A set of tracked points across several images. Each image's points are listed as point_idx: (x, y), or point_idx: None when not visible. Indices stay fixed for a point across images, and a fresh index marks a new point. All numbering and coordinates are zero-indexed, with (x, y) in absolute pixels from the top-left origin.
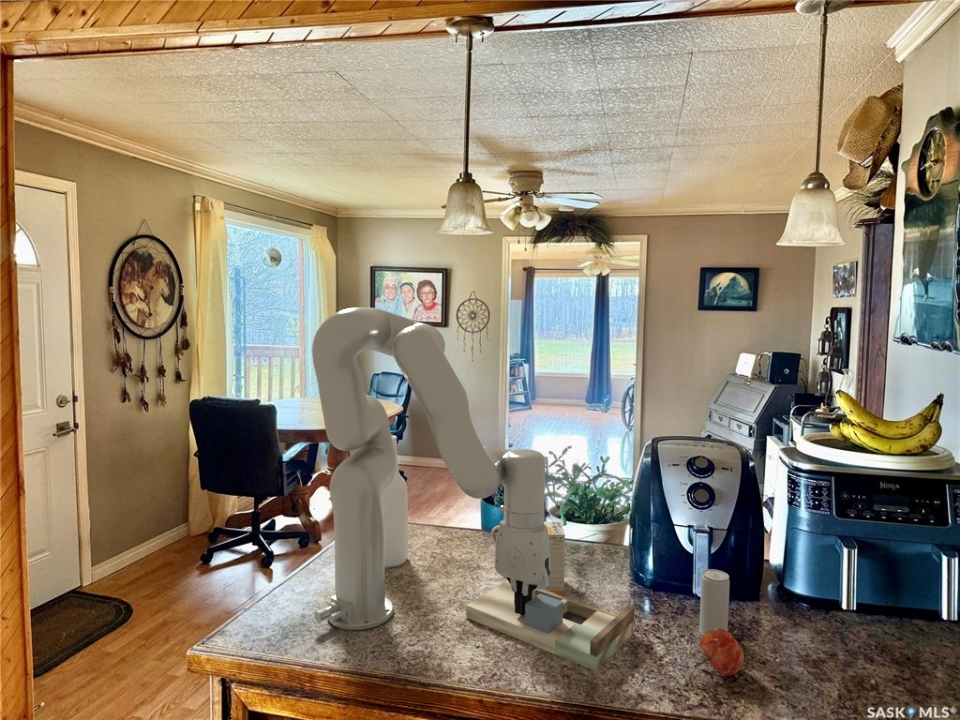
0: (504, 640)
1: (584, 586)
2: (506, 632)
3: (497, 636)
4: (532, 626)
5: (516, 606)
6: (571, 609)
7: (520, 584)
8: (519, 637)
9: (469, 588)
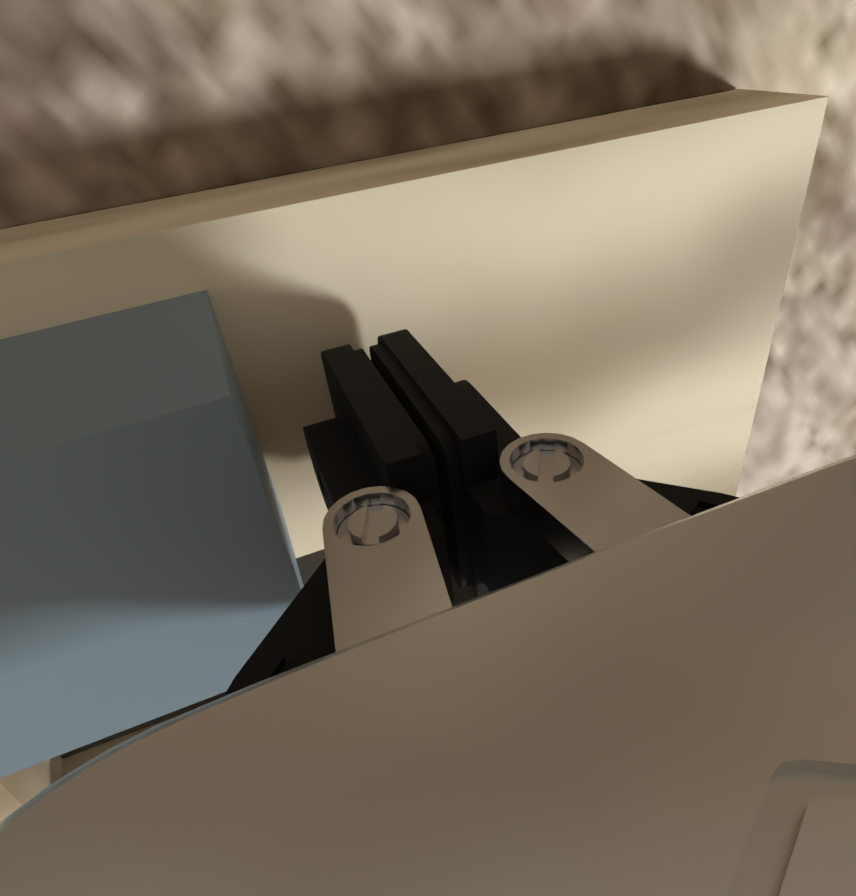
0: (285, 61)
1: None
2: (354, 165)
3: (380, 65)
4: (109, 319)
5: (408, 360)
6: None
7: (534, 574)
8: (206, 194)
9: (851, 374)
